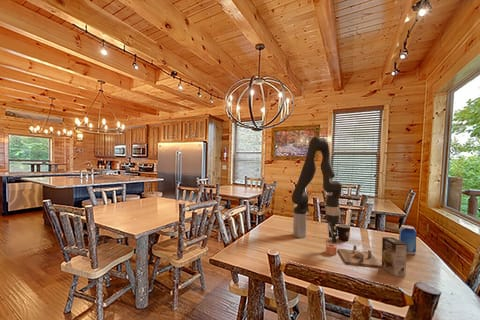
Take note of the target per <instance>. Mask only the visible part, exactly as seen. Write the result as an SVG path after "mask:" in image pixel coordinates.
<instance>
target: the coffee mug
mask: <svg viewBox="0 0 480 320" xmlns="http://www.w3.org/2000/svg"><path fill="white" fill-rule="evenodd" d="M336 226H337V235H338V236H337V239H338V240H339V241H340V242H349V238H350V232H351V226H350V225H349V224H345V223H337V224H336Z"/></svg>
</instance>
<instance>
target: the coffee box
mask: <svg viewBox="0 0 480 320" xmlns="http://www.w3.org/2000/svg"><path fill="white" fill-rule="evenodd" d="M381 245H382V246H381V247H382V248H381V265H382V268H383V269H385V270H386V271H387V272H389V273H390V274H391V275H393V276H397V277H399V276H406V274H407V254H406V252H407V244H406V243H404V242H402V241H400V240H399V238H395V237H393V236H392V237H390V236H382V240H381Z"/></svg>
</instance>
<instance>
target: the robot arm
mask: <svg viewBox="0 0 480 320" xmlns="http://www.w3.org/2000/svg"><path fill="white" fill-rule="evenodd" d="M317 152H320V153H321V156H322V157H321V158H322V159H321V162H320V170H321V174H322V178H323V179H322V181H323V182H322V183H323V184H322V188H323V190H324V191H325V193H331V195H329V196H327V197H326V202H325V203H326V205H325V221H326V222H327V229H328V230H327V231H328V238H330V239H331V244H336V243H337V238H338V235H337V234H338V230H337V224H338V223H339V222H340V207H339V206H340V205H339V202H340V197H341V194H342V190H343V187H342V183H341V182H340V181H338V180H332V179H334V178H335V177H336V174H335V170H334V168H333V165H332V160H331V154H330V146H329V141H328V140H327V139H326V138H323V137H319V136H313V137H312V138H311V139H310V140H309V144H308V149H307V151H306V156H305V161H304V163H303V166H302V169H301V171H300V174H299V175H300V176H299V177H298V180H297V182H296V185H295V188H294V190H293V192H292V195H291V201H292V203H293V204H294V205H296V206H295V207H294V208H293V223H292V235H293V237H295V238H297V239H298V238H300V239H302V238H303V239H304V238H306V237H307V211H308V207H309V195H308V193H307V192H306V191H305V189H306V188H307V186H309V184H310V183H311V182H312V180H314V177H315V175H316V171H317V165H316V162H315V156H316V153H317ZM336 223H337V224H336Z"/></svg>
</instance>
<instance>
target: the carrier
mask: <svg viewBox="0 0 480 320" xmlns="http://www.w3.org/2000/svg"><path fill="white" fill-rule="evenodd" d="M337 253H339V256H340V257H341V259H342V260H343V262H344V263H345V265H352V266H360V267H368V268H379V269H382V268H383V267H382V263H380V261H379V260H377V258H375V256H374V255H373V254H372V250H370V249H368V250H367V251H366V250H360V249H357V245H356V244H353V249H344V248H337Z"/></svg>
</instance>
